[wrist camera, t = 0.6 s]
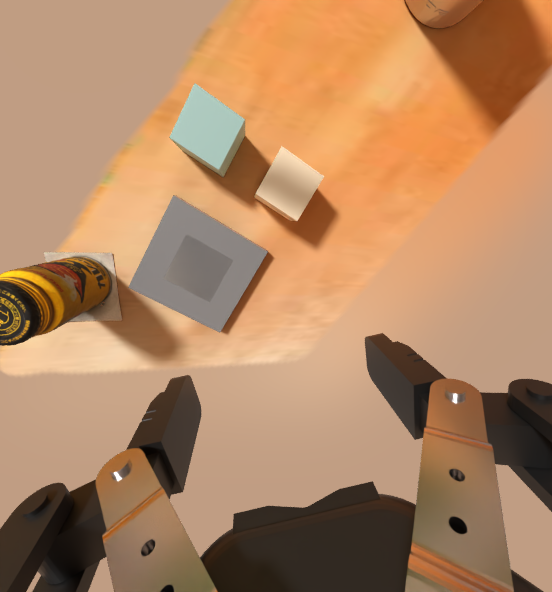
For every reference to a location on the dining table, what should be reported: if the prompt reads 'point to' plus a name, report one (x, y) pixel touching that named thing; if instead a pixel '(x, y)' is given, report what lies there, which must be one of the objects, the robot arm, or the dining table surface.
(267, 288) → the dining table surface
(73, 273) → the condiment
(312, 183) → the block birch
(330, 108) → the dining table surface
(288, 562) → the robot arm
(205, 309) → the plate
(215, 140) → the block teal
